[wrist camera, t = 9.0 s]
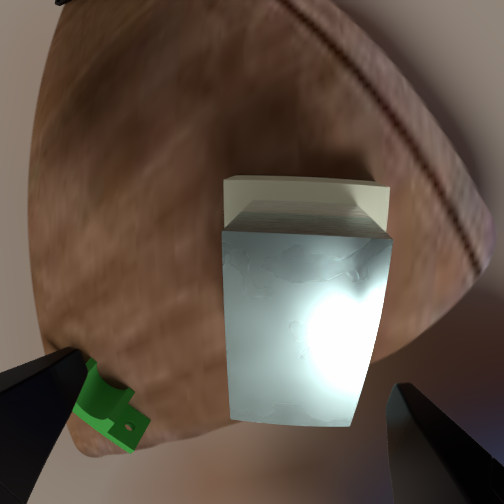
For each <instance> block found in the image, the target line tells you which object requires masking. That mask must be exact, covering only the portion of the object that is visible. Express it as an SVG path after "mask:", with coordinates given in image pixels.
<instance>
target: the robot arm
mask: <svg viewBox="0 0 504 504" xmlns="http://www.w3.org/2000/svg"><path fill="white" fill-rule="evenodd" d="M69 1H71V0H55V4H56V5H58V6H61V5H63V4H65V3H67V2H69ZM87 376H88V369H87V366H86V363H85V361H84V358H83V355H82V352H81V351H80V350H79V349H77V348H73V347H66V348H63V349H61V350H58V351H56V352H53V353H51V354H48V355H45V356H43V357H40V358H38V359H35V360H33V361H30V362H28V363H25V364H22V365H20V366H17V367H14V368H12V369H9V370H7V371H4V372H1V373H0V504H27V501H28V499H29V497H30V495H31V492H32V490H33V488H34V486H35V483H36V481H37V479H38V477H39V475H40V473H41V471H42V469H43V467H44V465H45V463H46V460H47V459H48V457H49V455H50V453H51V451H52V449H53V447H54V445H55V443H56V441H57V439H58V437H59V435H60V434H61V432H62V430H63V428H64V426H65V424H66V422H67V421H68V419H69V417H70V415H71V413H72V411H73V408H74V406H75V404H76V401H77V399H78V397H79V394H80V392H81V390H82V387H83V385H84V383H85V381H86V379H87ZM386 421H387V439H388V460H389V468H390V475H391V482H392V488H393V497H394V504H504V466H503V465H502V464H500V463H499V462H498V461H497V460H496V459H495V458H492V456H491V455H490V454H489V453H488V452H487V451H486V450H485V449H484V448H483V447H482V446H481V445H479V444H478V443H477V442H476V441H475V440H474V439H473V438H472V437H471V436H469V435H468V434H467V433H466V432H465V431H464V430H463V429H462V428H461V427H460V426H458V425H457V424H456V423H455V422H454V421H453V420H452V419H451V418H450V417H449V416H447V415H446V414H445V413H444V412H443V411H442V410H441V409H440V408H439V407H437V406H436V405H435V404H434V403H433V402H432V401H431V400H430V399H428V398H427V397H426V396H425V395H424V394H423V393H422V392H421V391H420V390H418V389H417V388H416V387H415V386H414V385H413V384H412V383H410V382H400V383H396V384H395V385H394V386H393V389H392V392H391V394H390V397H389V400H388V402H387V406H386Z"/></svg>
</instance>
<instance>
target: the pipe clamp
mask: <svg viewBox="0 0 504 504" xmlns="http://www.w3.org/2000/svg"><path fill="white" fill-rule="evenodd" d="M86 366H87V369H88V376H87V379H86V381H85V383H84V385H83V387H82V390H81V392H80V394H79V397H78V399H77V401H76V404H75V406H74V408H73V411H72V412H74V413H75V414H76V415H77V416H79V417H80V418H81V419H82V420H84V421H85V422H86V423H88V424H89V425H90V426H91V427H93V428H94V429H95V430H97V431H98V432H100V433H101V434H102V435H104V436H105V437H106V438H108V439H109V440H111V441H112V442H114V443H115V444H117V445H118V446H119V447H121V448H122V449H124V450H126V451H127V452H129V453H132V452H133V451H134V450H135V448H136V446H137V445H138V443H139V441H140V439H141V437H142V436H143V434H144V432H145V430H146V428H147V426H148V425H149V423H150V421H151V420H150V419H149V418H147V417H146V416H144V415H143V414H141V413H140V412H139V411H137V410H136V409H134V408H133V407H131V406H130V405H129V404H128V402H129V401H130V399H131V398H132V396H133V395H134V393H135V392H134V391H133V390H132V389H130V388H127V389H125V390H119V389H116V388H113V387H111V386H110V385H108V384H107V383H106V382H105V381H104V380H103V379H102V378H101V377H100V375H99V373H98V371H97V362H96V361H95V360H94V359H92V358H90V359H89V360H88V362H87V363H86ZM125 425H129V426H130V427H131V429H132V431H129V430H127V429H126V427H125Z"/></svg>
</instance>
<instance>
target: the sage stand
mask: <svg viewBox="0 0 504 504" xmlns="http://www.w3.org/2000/svg"><path fill="white" fill-rule="evenodd" d="M223 181H224V228H225V227H226V226H227V225H228V224H229V223H230V222H231V221H232V220H233V219H234V218H235V217H236V216H237V215H238V214H239V213H240V212H241V211H242V210H243V209H244V208H245V207H246V206H247V205H248V204H249V203H250V202H251V201H252V200H273V201H299V202H319V203H337V204H353V205H358V206H359V207H360V208H361V209H362V210H363V211H365V212H366V213H367V214H368V215H369V216H370V217H371V218H372V219H373V220H374V221H375V222H376V223H377V224H378V225H379V226H380V227H381V228H382V229H383V230H384V231H385V232H386V227H387V218H388V207H389V194H390V187H388V186H385V185H383V184H380V183H378V182H375V181H364V180H351V179H336V178H318V177H296V176H261V175H235V176H233V177H230V178H227V179H224V180H223Z"/></svg>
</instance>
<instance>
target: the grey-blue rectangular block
mask: <svg viewBox="0 0 504 504" xmlns="http://www.w3.org/2000/svg"><path fill="white" fill-rule="evenodd" d="M392 245H393V239H392V238H391V237H390V236H389V235H388V234H387V233H386V232H385V231H384V230H383V229H382V228H381V227H380V226H379V225H378V224H377V223H376V222H375V221H374V220H373V219H372V218H371V217H370V216H369V215H368V214H367V213H366V212H365V211H363V210H362V209H361V208H360V207H359V206H358V205H353V204H337V203H319V202H299V201H273V200H252V201H251V202H250V203H249V204H248V205H247V206H246V207H245V208H244V209H243V210H242V211H241V212H240V213H239V214H238V215H237V216H236V217H235V218H234V219H233V220H232V221H231V222H230V223H229V224H228V225H227V226H226V227H225V228H224V229H223V230H222V262H223V290H224V314H225V335H226V354H227V371H228V388H229V403H230V417H231V419H233V420H241V421H250V422H259V423H269V424H282V425H298V426H329V427H330V426H331V427H332V426H333V427H334V426H337V427H339V426H340V427H341V426H350V424H351V421H352V418H353V415H354V412H355V409H356V406H357V402H358V399H359V396H360V393H361V390H362V386H363V383H364V379H365V376H366V372H367V369H368V365H369V361H370V357H371V354H372V350H373V346H374V341H375V337H376V333H377V329H378V324H379V320H380V315H381V310H382V305H383V300H384V295H385V289H386V284H387V278H388V272H389V265H390V259H391V252H392Z"/></svg>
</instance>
